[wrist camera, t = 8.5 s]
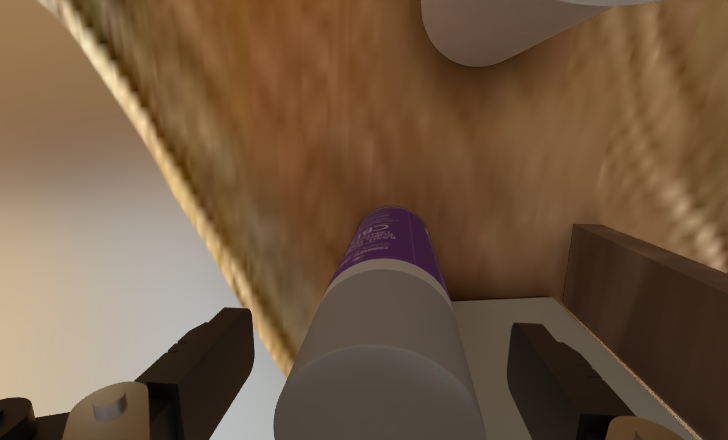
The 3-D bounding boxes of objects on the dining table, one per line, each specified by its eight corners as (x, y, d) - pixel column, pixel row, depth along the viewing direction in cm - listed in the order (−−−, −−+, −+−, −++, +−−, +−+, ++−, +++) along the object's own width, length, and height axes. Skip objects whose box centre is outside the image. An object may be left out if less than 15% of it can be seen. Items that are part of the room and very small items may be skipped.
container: (384, 190, 21) (350, 292, 6) (445, 235, 21) (544, 433, 7) (341, 248, 22) (227, 448, 8) (399, 290, 22) (398, 564, 8)
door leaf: (552, 297, 21) (711, 453, 10) (552, 315, 21) (706, 486, 11) (390, 304, 22) (381, 451, 12) (391, 321, 22) (384, 480, 12)
